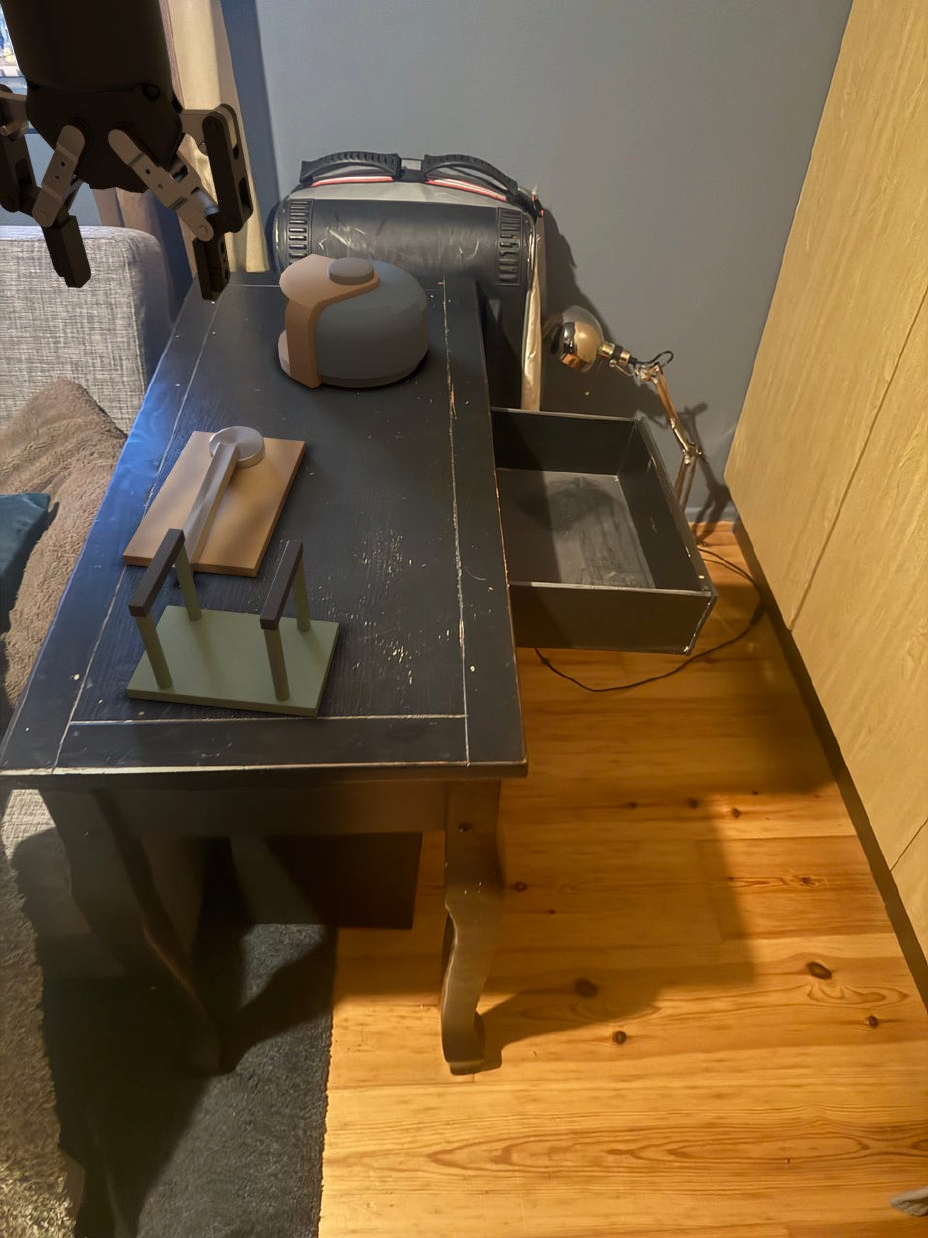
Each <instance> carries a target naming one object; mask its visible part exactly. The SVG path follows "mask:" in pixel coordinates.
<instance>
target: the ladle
mask: <svg viewBox="0 0 928 1238" xmlns="http://www.w3.org/2000/svg"><path fill="white" fill-rule="evenodd" d="M215 433H216V434H215V435H214V436H213V437H212V438H211V440H210V442H209V450H210V454H211V457H212V460H211V462H210V465H209V467H208V470H207V472H206V474H205V477H204V479H203V482H202V484H201V486H200V489H199V491H198V494H197V496H196V498H195V501H194V503H193V506H192V508H191V510H190V513H189V515H188V518H187V520H186V522H185V525H184V527H183V532H184V536H185V542H184V545H185V549H186V553H187V557H188V561H189V565H190V569H191V572H192V576H194V574H195V572H196V571H195V568H196V566H197V563H198V561H199V558H200V555H201V553H202V550H203V548H204V545H205V543H206V540H207V537H208V535H209V532H210V530H211V527H212V524H213V522H214V519H215V517H216V514H217V512H218V509H219V506H220V504H221V501H222V499H223V496H224V494H225V491H226V488H227V486H228V483H229V481H230V478H231V475H232V473H233V470H234V469H242V468H246V467H249V466H252V465H254V464H256V463H257V462H258V461H260V460H261V459H262V457H263V456H264V454H265V444H264V439H263V438H264V436H263V435H262V434H261V433H260V432H259V431H258V430H256V429H254V428H252V427H249V426H243V425H239V426H238V425H237V426H236V425H235V426H231V427H229V426H228V427H226V428H223V429H221V430H219V431H218V432H215ZM168 575H169V577H170V578H172V579H178V576H177V573H176V569H175V565H174V564H173V566H172V568H171V570H170V572H169V574H168Z"/></svg>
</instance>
